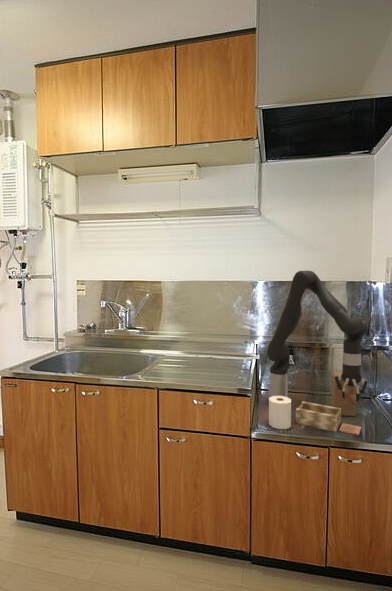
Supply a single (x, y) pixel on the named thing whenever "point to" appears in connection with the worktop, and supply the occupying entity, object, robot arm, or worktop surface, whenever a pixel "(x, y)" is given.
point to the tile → (350, 429)
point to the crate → (318, 416)
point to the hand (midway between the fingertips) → (351, 400)
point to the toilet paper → (280, 412)
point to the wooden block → (340, 397)
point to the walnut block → (350, 394)
